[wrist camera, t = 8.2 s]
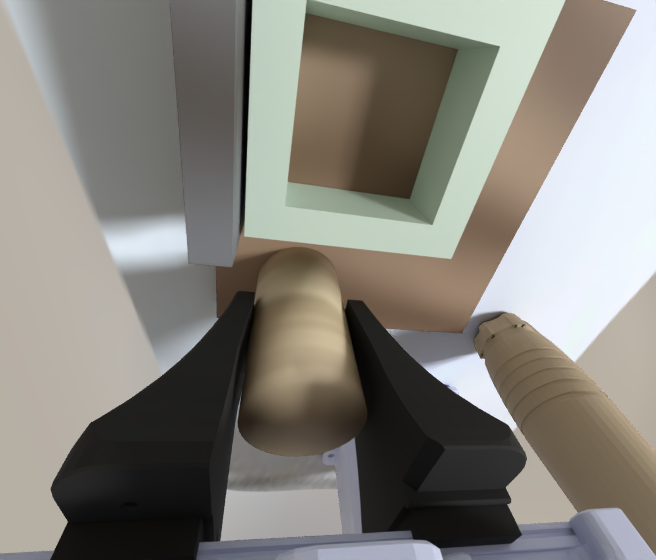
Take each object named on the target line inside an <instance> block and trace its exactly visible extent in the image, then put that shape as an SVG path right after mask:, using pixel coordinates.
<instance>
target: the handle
mask: <svg viewBox="0 0 656 560" xmlns="http://www.w3.org/2000/svg"><path fill="white" fill-rule="evenodd" d="M474 345H475V348H476V351H477V353H478V355H479V357H480V359H482V358H484V359H485V365H486V368H487V370H488V373H489V375H490V377H491V379H492V382H493V384H494V386H495V388H496V390H497V392H498V393H499V395H500V397H501V398H502V401H503V403H504V405H505V406H506V408H507V409H508V411H509V413H510V415H511V416H512V418H513V420H514V421H515V422H516V424H517V426H518V428H519V429H520V431H521V432H522V434H523V435H524V436H525V438H526V440H527V441H528V443H529V444H530V445H531V447H532V448H533V450H534V451H535V453H536V454H537V456H538V457H539V458H540V460H541V461H542V463H543V464H544V465H545V467H546V468H547V470H548V471H549V472H550V474H551V475H552V477H553V478H554V479H555V481H556V482H557V484H558V485H559V486H560V488H561V489H562V491H563V492H564V494H565V495H566V496H567V498H568V499H569V501H570V502H571V503H572V505H573V506H574V508H575V509H576V510H577V512H578V513H579V512H581V511H584V510H588V509H602V508H619V509H621V510H622V511H623V513H624V514H625V515H626V517H627V518H628V519H629V521H630V522H631V523H632V525H633V526H634V528H635V529H636V530H637V532H638V533H639V534H640V536H641V537H642V538H643V540H644V541H645V542H646V544H647V545H648V546H649V548H650V549H651V550H652V552H653V553H654V554H655V556H656V452H655V451H654V450H653V448H652V447H651V446H650V445H649V444H648V442H647V441H646V440H645V439H644V438H643V437H642V436H641V434H640V433H639V432H638V431H637V430H636V428H635V427H634V426H633V425H632V424H631V423H630V421H629V420H628V419H627V418H626V417H625V415H624V414H623V413H622V412H621V411H620V410H619V408H618V407H617V406H616V405H615V404H614V403H613V401H611V399H609V398H608V396H607V395H606V394H605V393H604V392H603V391H602V390H601V389H600V388H599V387H598V386H597V385H596V383H595V382H594V381H593V380H592V379H591V378H590V377H589V376H588V375H587V374H585V372H584V371H583V370H582V369H581V368H580V367H579V366H577V365H576V364H575V363H574V362H573V361H572V360H571V359H570V358H569V357H568V356H567V355H566V354H564V353H563V352H562V351H561V350H560V349H559V348H558V347H557V346H555V345H554V344H553V343H552V342H551V341H549V340H548V339H547V338H545V337H544V336H543V335H541V334H540V333H539V332H538V331H537V330H536V329H534V328H533V327H532V326H531V325H530V324H528V323H527V322H525V321H523V320H521V319H520V318H519V317H518V316H516V315H515V314H512V313H504V314H502V315H501V316H499V317H498V318H495V319H493V320H491V321H487V322H483V323H482V324H481V325H480V326H479V333H478V335H477V336H476V337H475V338H474Z"/></svg>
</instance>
